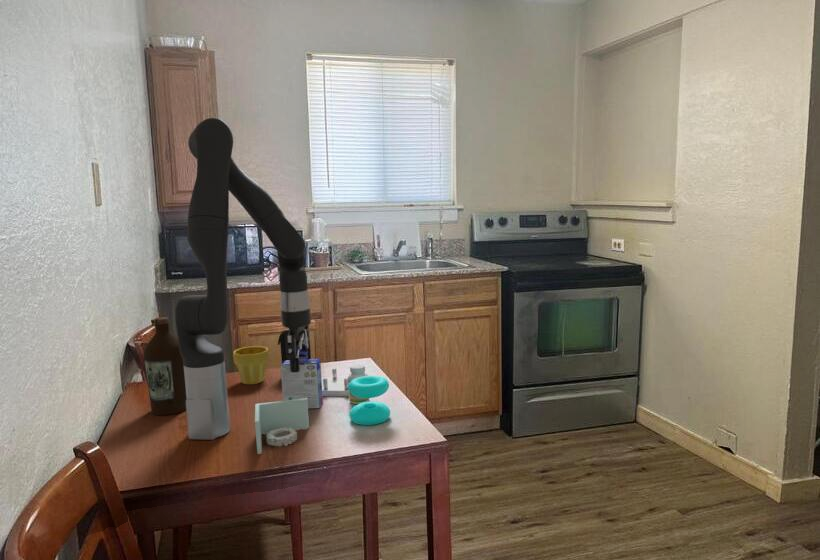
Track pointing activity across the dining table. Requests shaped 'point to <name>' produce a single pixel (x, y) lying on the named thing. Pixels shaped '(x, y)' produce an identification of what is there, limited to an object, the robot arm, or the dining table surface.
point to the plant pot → (251, 363)
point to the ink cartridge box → (303, 381)
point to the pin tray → (335, 386)
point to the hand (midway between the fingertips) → (299, 366)
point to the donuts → (369, 410)
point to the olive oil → (165, 371)
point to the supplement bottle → (355, 373)
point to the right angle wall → (280, 421)
